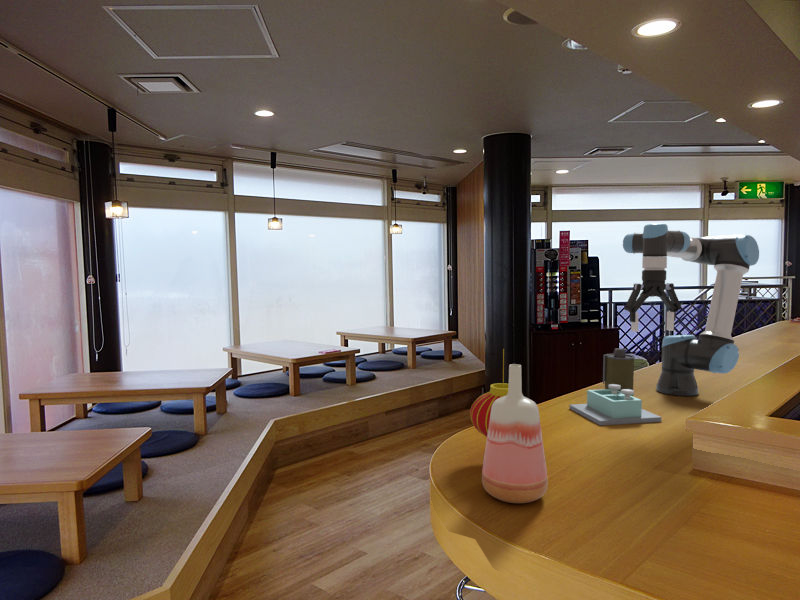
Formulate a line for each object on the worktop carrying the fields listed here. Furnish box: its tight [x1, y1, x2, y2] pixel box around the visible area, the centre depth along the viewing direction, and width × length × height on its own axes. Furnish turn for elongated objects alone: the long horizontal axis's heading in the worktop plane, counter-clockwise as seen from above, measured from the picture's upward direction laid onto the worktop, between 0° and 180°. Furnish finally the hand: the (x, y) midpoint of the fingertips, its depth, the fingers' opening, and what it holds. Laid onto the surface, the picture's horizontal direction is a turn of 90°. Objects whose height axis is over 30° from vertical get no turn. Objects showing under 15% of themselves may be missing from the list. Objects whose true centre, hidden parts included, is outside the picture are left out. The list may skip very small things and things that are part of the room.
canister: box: [602, 347, 636, 397], centre depth 198 cm, size 11×10×20 cm
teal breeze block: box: [586, 388, 643, 418], centre depth 180 cm, size 10×16×6 cm, turn 10°
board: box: [569, 384, 662, 426], centre depth 180 cm, size 22×20×9 cm
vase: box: [481, 363, 548, 504], centre depth 117 cm, size 14×14×30 cm
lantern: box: [469, 348, 509, 438], centre depth 138 cm, size 17×17×30 cm
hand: (652, 331), depth 181 cm, fingers open, 13 cm apart
